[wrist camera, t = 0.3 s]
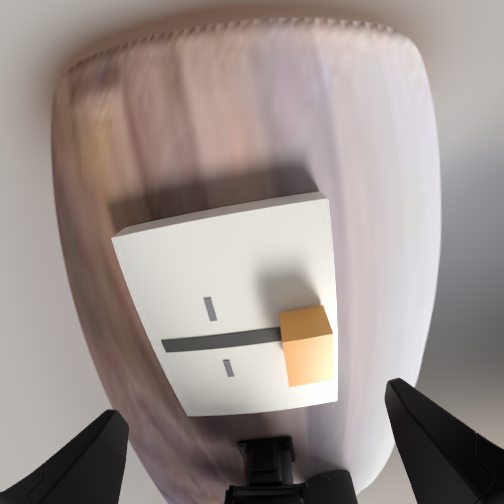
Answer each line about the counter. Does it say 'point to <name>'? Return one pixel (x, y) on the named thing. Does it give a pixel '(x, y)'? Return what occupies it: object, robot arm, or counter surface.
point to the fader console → (232, 299)
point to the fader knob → (307, 345)
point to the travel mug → (331, 488)
